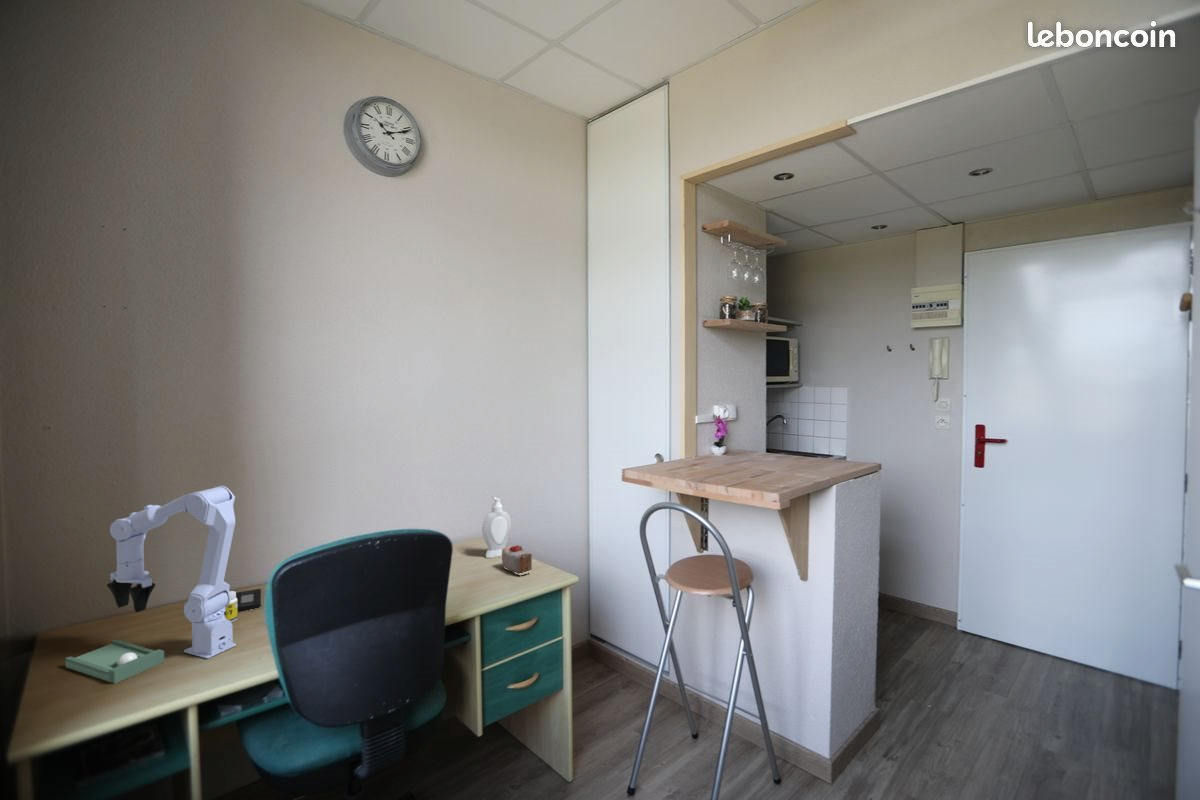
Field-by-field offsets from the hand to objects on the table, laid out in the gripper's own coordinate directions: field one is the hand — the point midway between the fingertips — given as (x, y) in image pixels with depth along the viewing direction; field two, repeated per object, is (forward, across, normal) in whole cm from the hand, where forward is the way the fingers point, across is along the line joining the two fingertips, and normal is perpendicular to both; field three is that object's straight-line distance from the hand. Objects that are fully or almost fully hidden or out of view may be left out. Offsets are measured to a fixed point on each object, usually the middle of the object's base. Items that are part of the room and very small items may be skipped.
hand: (131, 608), depth 153 cm
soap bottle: (+10, -52, -105) cm, 118 cm away
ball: (+8, -14, +9) cm, 18 cm away
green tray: (+10, -8, +8) cm, 16 cm away
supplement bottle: (+10, -10, -20) cm, 25 cm away
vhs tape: (+11, -3, -31) cm, 33 cm away
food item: (+10, -69, -93) cm, 116 cm away
